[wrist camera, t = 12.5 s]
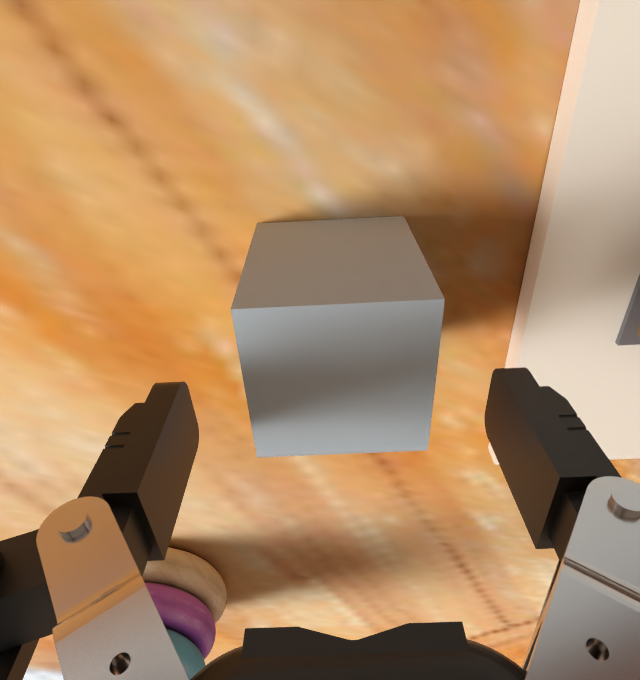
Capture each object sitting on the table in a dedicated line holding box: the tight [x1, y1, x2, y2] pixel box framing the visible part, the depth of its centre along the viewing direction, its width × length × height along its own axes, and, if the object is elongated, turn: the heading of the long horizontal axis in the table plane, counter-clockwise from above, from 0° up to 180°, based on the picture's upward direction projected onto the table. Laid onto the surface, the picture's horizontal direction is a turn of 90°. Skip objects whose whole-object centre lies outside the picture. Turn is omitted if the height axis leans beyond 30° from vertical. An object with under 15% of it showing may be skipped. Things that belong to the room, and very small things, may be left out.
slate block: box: [231, 216, 445, 457], centre depth 15 cm, size 5×5×6 cm
